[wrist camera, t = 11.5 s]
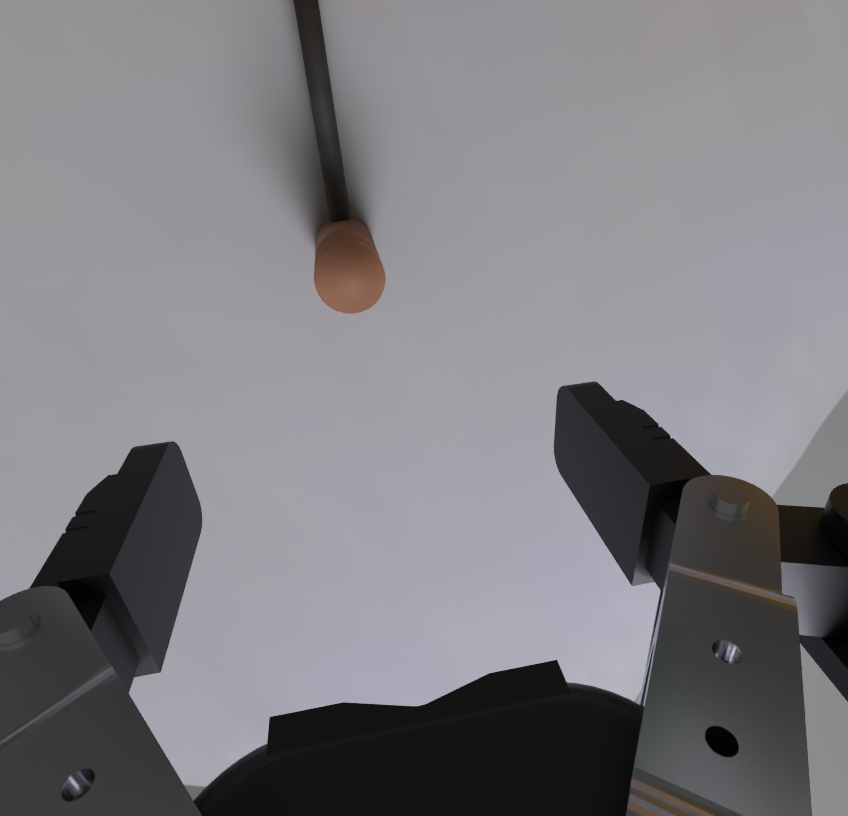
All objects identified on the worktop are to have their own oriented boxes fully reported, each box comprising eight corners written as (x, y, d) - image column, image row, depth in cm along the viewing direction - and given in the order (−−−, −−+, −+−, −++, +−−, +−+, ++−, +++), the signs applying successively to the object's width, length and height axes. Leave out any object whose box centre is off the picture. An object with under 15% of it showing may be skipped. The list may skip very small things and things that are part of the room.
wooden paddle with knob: (331, -403, 18) (335, -641, 12) (402, 264, 30) (422, 303, 24) (149, -401, 18) (63, -651, 12) (293, 278, 29) (286, 322, 23)
